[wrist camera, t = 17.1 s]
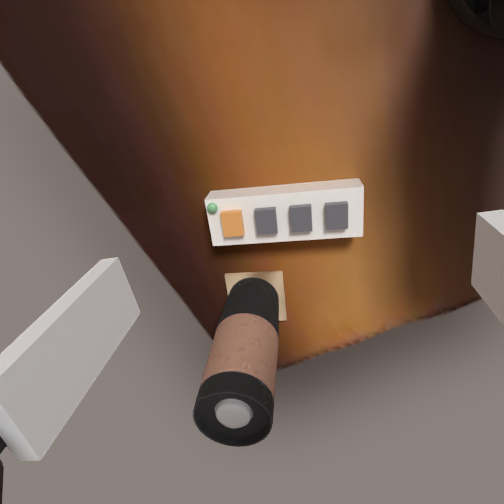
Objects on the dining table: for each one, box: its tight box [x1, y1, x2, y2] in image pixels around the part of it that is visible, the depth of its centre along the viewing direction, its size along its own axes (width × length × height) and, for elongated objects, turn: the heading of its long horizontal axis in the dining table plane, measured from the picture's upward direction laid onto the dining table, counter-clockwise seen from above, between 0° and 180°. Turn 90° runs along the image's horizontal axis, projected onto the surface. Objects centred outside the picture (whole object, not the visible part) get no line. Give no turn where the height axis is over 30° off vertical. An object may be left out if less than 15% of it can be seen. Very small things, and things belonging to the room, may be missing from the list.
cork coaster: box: [225, 271, 287, 321], centre depth 51 cm, size 8×8×1 cm
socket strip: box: [205, 178, 364, 246], centre depth 43 cm, size 18×6×4 cm, turn 97°
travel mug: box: [193, 277, 279, 447], centre depth 42 cm, size 8×8×20 cm
